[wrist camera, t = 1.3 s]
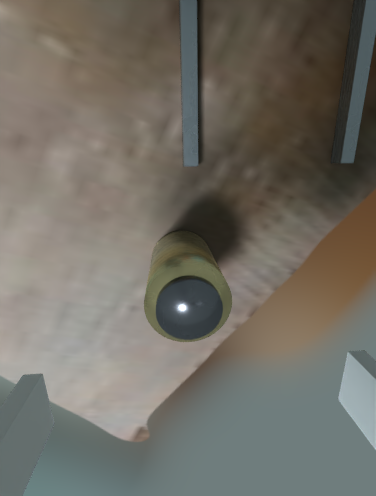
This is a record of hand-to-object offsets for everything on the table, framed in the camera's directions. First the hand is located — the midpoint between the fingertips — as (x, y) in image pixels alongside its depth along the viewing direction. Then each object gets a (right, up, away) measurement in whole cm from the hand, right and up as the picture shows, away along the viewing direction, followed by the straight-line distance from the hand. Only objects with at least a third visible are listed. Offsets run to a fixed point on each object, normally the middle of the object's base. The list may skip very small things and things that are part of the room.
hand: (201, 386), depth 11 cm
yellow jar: (-1, +5, +15) cm, 16 cm away
